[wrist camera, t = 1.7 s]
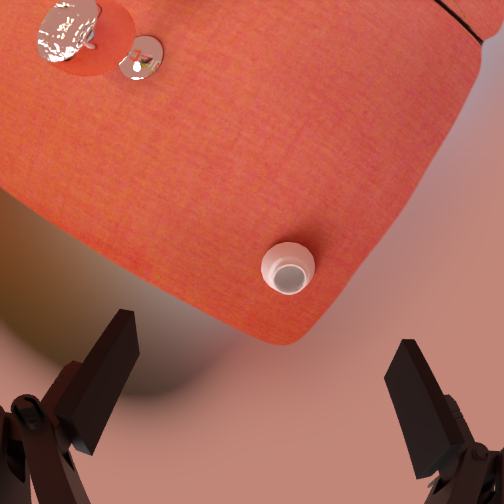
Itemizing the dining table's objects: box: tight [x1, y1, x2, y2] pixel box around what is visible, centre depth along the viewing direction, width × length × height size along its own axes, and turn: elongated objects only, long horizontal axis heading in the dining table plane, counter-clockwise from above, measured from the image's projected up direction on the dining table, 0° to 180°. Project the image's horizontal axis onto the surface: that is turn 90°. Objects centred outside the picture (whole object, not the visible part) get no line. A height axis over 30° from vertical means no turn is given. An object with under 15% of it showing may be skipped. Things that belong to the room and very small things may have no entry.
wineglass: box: [37, 0, 163, 80], centre depth 17 cm, size 6×6×12 cm
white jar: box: [261, 242, 315, 294], centre depth 28 cm, size 5×3×5 cm
